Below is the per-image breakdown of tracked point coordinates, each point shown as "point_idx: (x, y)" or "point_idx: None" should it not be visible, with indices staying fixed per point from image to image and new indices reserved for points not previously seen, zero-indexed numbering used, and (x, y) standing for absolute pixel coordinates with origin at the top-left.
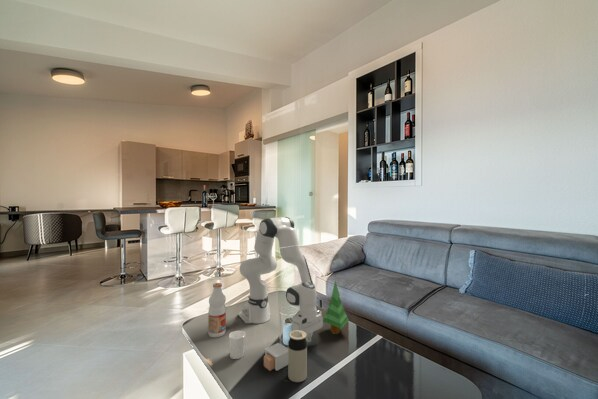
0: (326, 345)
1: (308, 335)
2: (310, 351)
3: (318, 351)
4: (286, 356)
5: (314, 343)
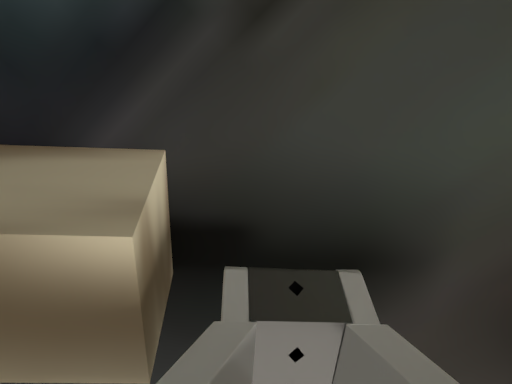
0: (487, 367)
1: (372, 358)
2: (202, 324)
3: None
4: None
5: (441, 237)
